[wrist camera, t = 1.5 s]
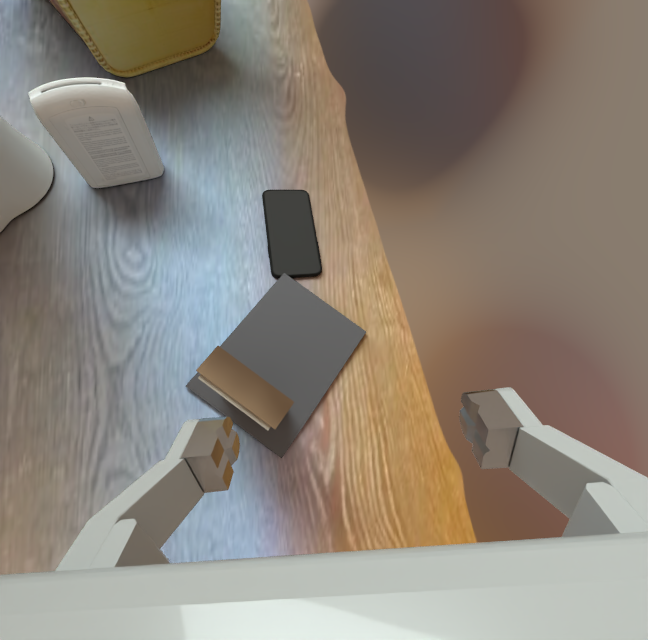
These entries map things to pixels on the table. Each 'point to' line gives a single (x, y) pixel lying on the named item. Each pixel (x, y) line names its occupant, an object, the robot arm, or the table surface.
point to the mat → (287, 357)
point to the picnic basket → (143, 31)
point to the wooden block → (244, 388)
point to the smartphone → (291, 234)
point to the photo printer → (98, 129)
